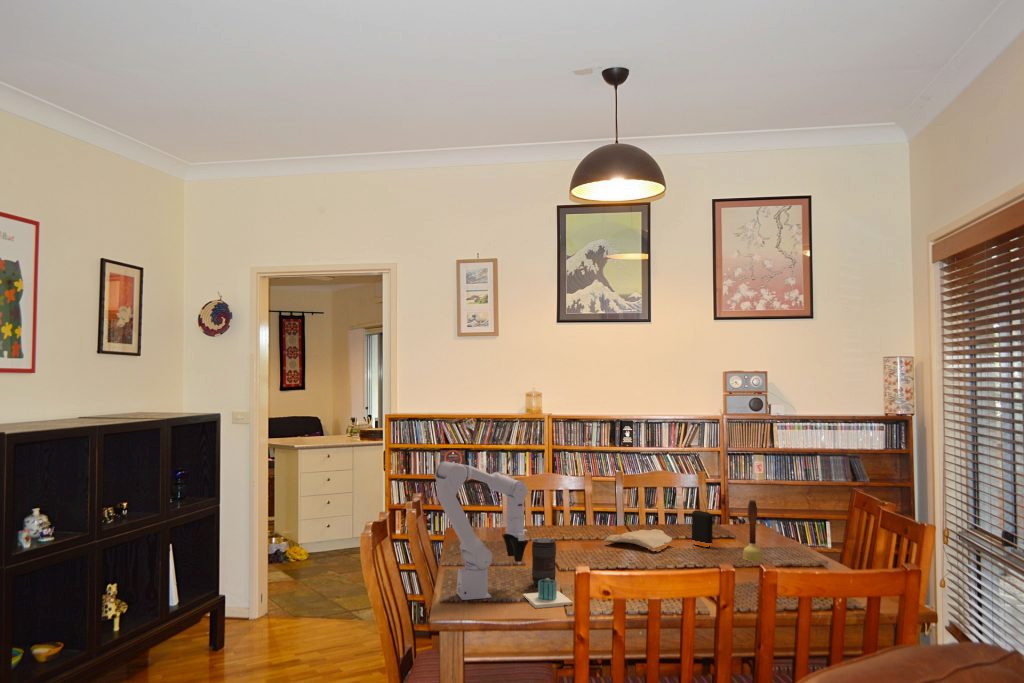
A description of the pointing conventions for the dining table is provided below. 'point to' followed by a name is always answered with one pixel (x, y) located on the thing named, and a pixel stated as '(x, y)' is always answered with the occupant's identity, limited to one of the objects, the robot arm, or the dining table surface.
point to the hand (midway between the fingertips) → (514, 558)
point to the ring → (547, 590)
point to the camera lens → (543, 559)
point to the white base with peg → (539, 603)
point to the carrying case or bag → (702, 526)
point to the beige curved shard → (642, 538)
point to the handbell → (752, 535)
